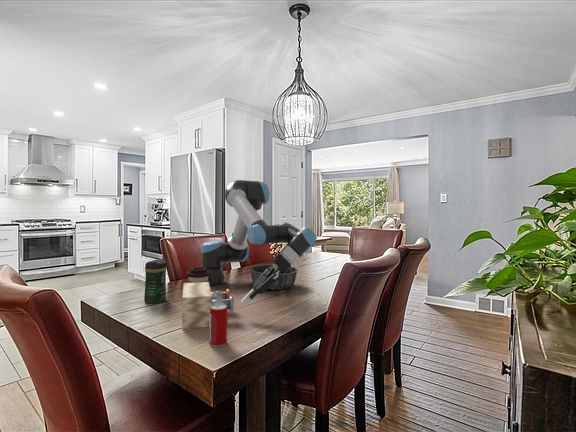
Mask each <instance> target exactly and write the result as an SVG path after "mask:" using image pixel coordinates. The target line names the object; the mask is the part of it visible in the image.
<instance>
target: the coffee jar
mask: <svg viewBox="0 0 576 432" xmlns="http://www.w3.org/2000/svg"><path fill="white" fill-rule="evenodd" d="M167 270H168V269H167V261H166V260H165V259H158V258H156V259H154V260H150V261H147V262H146V263H145V266H144V272H145V281H144V285H145V286H144V295H143V296H144V298H143V299H144V302H145V303H146V304H147V303H148V304H156V303H157V304H159V303H160V302H163V301H164V300H166V298H167V283H166V282H167V281H166V280H167V278H166V276H167Z"/></svg>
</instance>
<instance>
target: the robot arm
mask: <svg viewBox="0 0 576 432" xmlns="http://www.w3.org/2000/svg"><path fill="white" fill-rule="evenodd" d="M224 199H225V201H226V203H227V204H228V205H229V206H230V207H232V208H233V209H234V211H235V212H236V214H237V215H238V217H237V219H236V223H235V227H234V229H233V233H232V235H231V236H230V237H228V240H227V242H224V241H222V240H210V241H206V242H204V243H202V244H201V248H200V249H201V251H200V253H201V254H200V260H201V261H200V263H201V264H200V267H202V268H206V269H207V271H209V272H210V275H209V276H208V282H209V286H218V285H222V284H223V285H224V283H226V276H225V274H224V270H223V264H231V263H232V264H233V263H240V262H241V263H242V262H245V261H246V260H247V259H248V257H249V253H250V246H249V244H248V242H247V240H248V241H249V243H251V244H253V245H265V244H284V243H285V245H284V246H283V247H282V248H281V250H280V251H279V253H277V254H276V255H275V256H274V257H273V258H272V262H273V263H274V265H272V264H271V265H272V266H270V267H269V268H268V267H267V268H266V270H265V271H264V273H263V274H262V275H261V276H260V277H259V279H258V280H257V281H256V282H255V283H254V284H253V285H252V289H251V290H250V291H248V293H247V294H246V295H245V296H244V297H243V298H242V299H241V300H240V303H242V304H243V305H244V306H245V307H248V306H249V304H251V302H252V301H254V299H255V298H256V297H257V296H258V295H259V294H260V295H263V293H264V292H265V291H267V290H266V289H267V288H268V287H269V286H271V285H272V284H273V283H274V282H275V281H276V280H278V279H279V278H280V277H279V275H280V273H281V272H282V270H283V271H284V272H287V271H288V270H289V269H290V268H291V266H292V265H294V264H296V263H298V262H299V259H301V257H302V256H303V255H304V254H305V253H306V252H307V251H308V250H309V249H310V248H311V247H312V246H313V245H314V243H315V242H316V241H317V238H318V237H317V235H316V234H315V232H314V231H313V230H312V229H311V228H310V227H308V226H303V227H302V228H300V229H299V228H297V227H295V226H294V225H292V224H291V223H288V222H281V223H280V224H270V225H269V224H267V222H266V221H265V220H264V219H263V218H262V216H261V215H260V214H259V213H258V211H260V210H261V209H262V206H263V205H266V204H268V203H269V201H270V190H269V186H268V184H267V183H266V182H264V181H259V180H257V181H256V180H247V179H246V180H242V179H237V180H233V181H232V182H230V183H229V184H228V185H226V187H225V190H224Z"/></svg>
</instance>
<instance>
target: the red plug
mask: <svg viewBox="0 0 576 432" xmlns="http://www.w3.org/2000/svg"><path fill="white" fill-rule="evenodd" d="M211 294H212V300H215V299H229V296H231V290H230V288H226V290H225V291H224V290H223V291H211Z"/></svg>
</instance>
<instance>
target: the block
mask: <svg viewBox="0 0 576 432" xmlns="http://www.w3.org/2000/svg"><path fill="white" fill-rule="evenodd" d="M211 292H212V291H211V285H209V282H197V283H188V282H183V288H182V303H181V304H182V305H181V306H182V308H181V309H182V310H181V315H182V316H181V329H182V330H185V329H186V330H187V329H198V328H209V320H210V309H211V306H212V294H211Z"/></svg>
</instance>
